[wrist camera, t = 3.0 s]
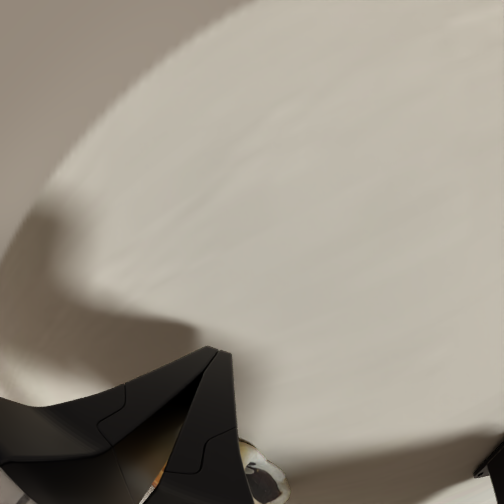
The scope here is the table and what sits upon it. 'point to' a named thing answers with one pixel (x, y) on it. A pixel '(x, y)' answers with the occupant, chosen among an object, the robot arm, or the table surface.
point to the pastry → (259, 477)
